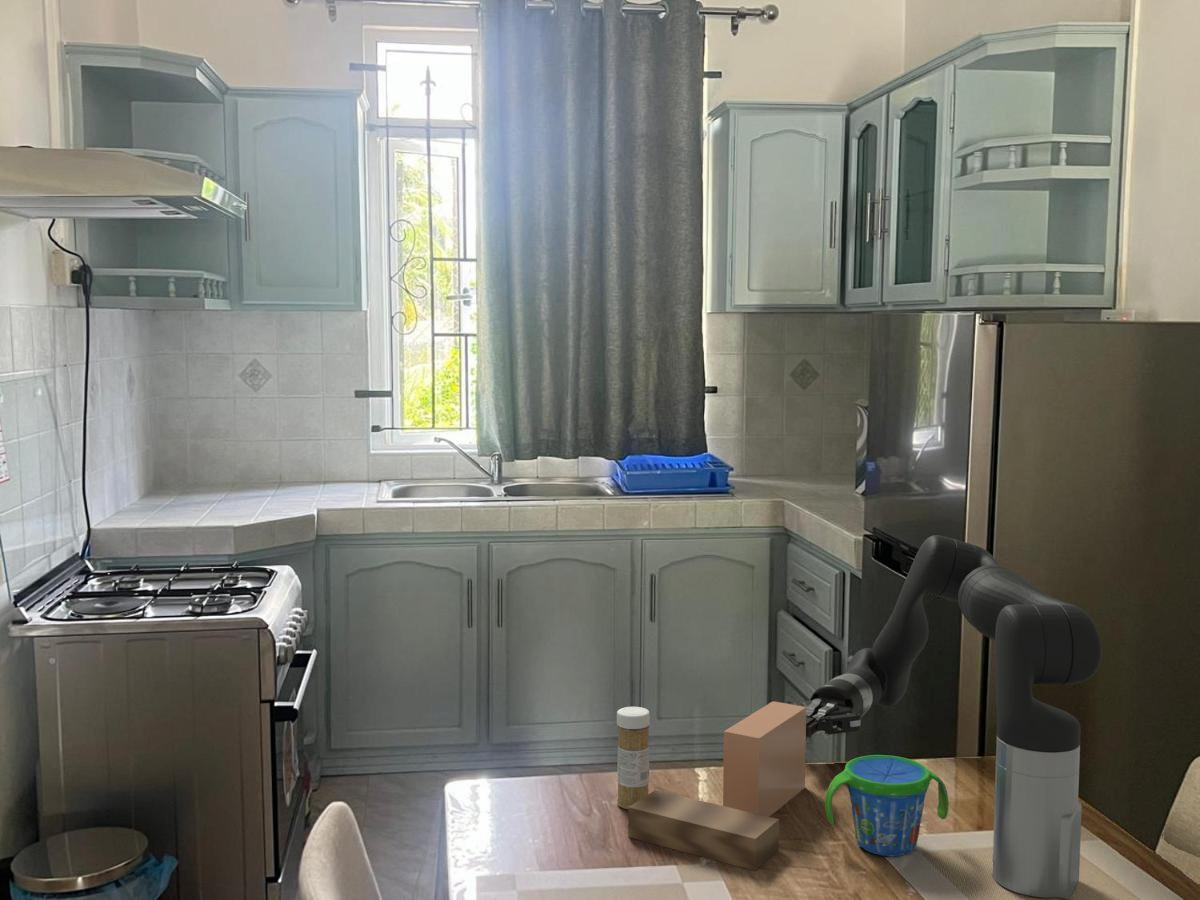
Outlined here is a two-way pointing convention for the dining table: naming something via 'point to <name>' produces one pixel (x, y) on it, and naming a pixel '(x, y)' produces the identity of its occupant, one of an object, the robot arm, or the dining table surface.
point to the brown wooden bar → (704, 829)
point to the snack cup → (886, 801)
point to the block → (765, 759)
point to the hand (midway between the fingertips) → (799, 731)
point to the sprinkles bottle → (632, 755)
